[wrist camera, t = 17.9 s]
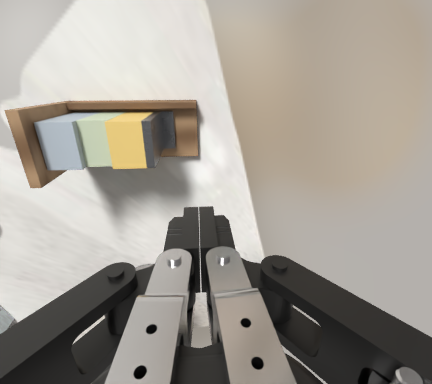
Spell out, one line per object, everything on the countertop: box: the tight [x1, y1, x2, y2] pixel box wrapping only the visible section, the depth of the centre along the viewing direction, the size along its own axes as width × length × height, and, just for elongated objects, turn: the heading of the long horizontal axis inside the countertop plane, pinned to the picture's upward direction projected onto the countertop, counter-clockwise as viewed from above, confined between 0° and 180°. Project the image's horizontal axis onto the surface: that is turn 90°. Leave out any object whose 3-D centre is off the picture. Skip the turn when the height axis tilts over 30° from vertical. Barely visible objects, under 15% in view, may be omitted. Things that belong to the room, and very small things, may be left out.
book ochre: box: [105, 112, 153, 169], centre depth 33 cm, size 6×4×10 cm
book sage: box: [76, 112, 126, 167], centre depth 33 cm, size 6×4×9 cm, turn 0°
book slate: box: [34, 112, 101, 170], centre depth 33 cm, size 6×4×10 cm
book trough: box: [5, 100, 198, 188], centre depth 33 cm, size 8×19×13 cm, turn 90°
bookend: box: [141, 111, 176, 168], centre depth 33 cm, size 6×3×10 cm, turn 0°
